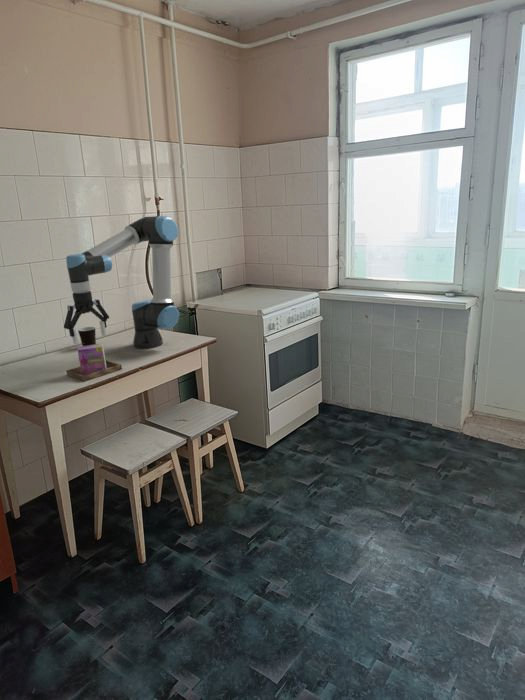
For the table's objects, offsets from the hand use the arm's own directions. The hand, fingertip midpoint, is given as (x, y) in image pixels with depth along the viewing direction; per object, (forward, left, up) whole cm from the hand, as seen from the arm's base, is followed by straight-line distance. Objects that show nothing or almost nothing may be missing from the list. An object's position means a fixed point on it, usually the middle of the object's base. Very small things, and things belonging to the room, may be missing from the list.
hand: (90, 339), depth 216 cm
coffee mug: (-21, -41, -15) cm, 49 cm away
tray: (0, 0, -15) cm, 15 cm away
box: (0, 0, -15) cm, 15 cm away
